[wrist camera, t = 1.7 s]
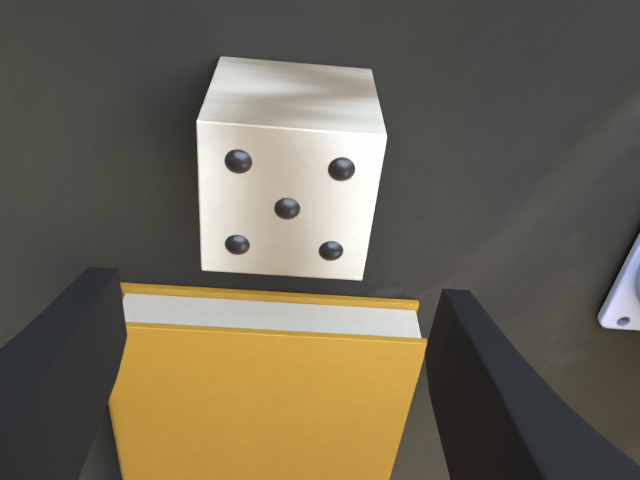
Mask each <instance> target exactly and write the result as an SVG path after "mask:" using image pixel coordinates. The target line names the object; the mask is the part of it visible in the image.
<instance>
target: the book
mask: <svg viewBox="0 0 640 480" xmlns="http://www.w3.org/2000/svg"><path fill="white" fill-rule="evenodd" d="M120 287H121V294H122V301H123V308H124V315H125V322H126V329H127V340H126V344H125V348H124V353H123V357H122V361H121V365H120V369H119V373H118V376H117V379H116V382H115V385H114V387H113V390H112V393H111V395H110V398H109V401H108V405H109V410H110V416H111V421H112V426H113V432H114V437H115V443H116V448H117V453H118V459H119V464H120V470H121V475H122V480H389V478H390V475H391V471H392V468H393V464H394V461H395V457H396V454H397V450H398V447H399V443H400V440H401V436H402V433H403V429H404V426H405V422H406V419H407V415H408V412H409V408H410V404H411V401H412V397H413V394H414V390H415V387H416V383H417V380H418V376H419V373H420V369H421V366H422V362H423V359H424V355H425V349H426V346H427V339H424V338H421V334H420V330H419V325H418V320H417V311H418V307H419V302H418V300H404V299H388V298H371V297H355V296H338V295H321V294H305V293H288V292H272V291H255V290H239V289H222V288H206V287H189V286H173V285H156V284H140V283H123V282H120Z"/></svg>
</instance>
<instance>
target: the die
mask: <svg viewBox="0 0 640 480" xmlns="http://www.w3.org/2000/svg"><path fill="white" fill-rule="evenodd" d="M196 129H197V159H198V188H199V218H200V248H201V269H202V270H203V271H218V272H234V273H250V274H266V275H282V276H298V277H314V278H330V279H346V280H362V278H363V273H364V267H365V261H366V256H367V250H368V244H369V238H370V233H371V227H372V221H373V216H374V210H375V204H376V198H377V193H378V187H379V181H380V176H381V170H382V164H383V158H384V153H385V147H386V141H387V134H386V129H385V125H384V121H383V117H382V113H381V108H380V104H379V100H378V96H377V92H376V87H375V83H374V79H373V75H372V71H371V69H362V68H351V67H339V66H327V65H316V64H304V63H293V62H281V61H269V60H258V59H246V58H235V57H223V56H221V57H220V59H219V61H218V64H217V67H216V69H215V72H214V75H213V78H212V80H211V83H210V86H209V89H208V91H207V94H206V97H205V99H204V102H203V105H202V108H201V110H200V113H199V116H198V119H197V121H196Z"/></svg>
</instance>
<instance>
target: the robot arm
mask: <svg viewBox="0 0 640 480" xmlns="http://www.w3.org/2000/svg"><path fill="white" fill-rule="evenodd" d="M622 317H624V318H622ZM597 318H598V321H599V323H600V324H601V326H602V327H604V328H611V329H628V330H640V233H639V235H638V237H637V239H636V241H635V243H634V245H633V247H632V248H631V250H630V252H629V254H628V256H627V258H626V260H625V262H624V264H623V266H622V268H621V270H620V272H619V274H618V276H617V278H616V280H615V282H614V284H613V286H612V288H611V290H610V292H609V294H608V296H607V298H606V300H605V302H604V304H603V306H602V308H601V310H600V312H599V314H598V317H597ZM620 318H622V319H620ZM126 340H127V329H126V322H125V315H124V308H123V301H122V294H121V287H120V279H119V272H118V269H113V268H97V267H89V268H88V269H87V270H85V271H84V272H83V273H82V274H81V275H80V276H79V277H78V278H77V279H76V280H75V281H74V282H73V283H72V284H71V285H70V286H69V287H68V288H67V289H66V290H65V291H64V292H63V293H62V294H61V295H60V296H59V297H57V298H56V299H55V300H54V301H53V302H52V303H51V304H50V305H49V306H48V307H47V308H46V309H45V310H44V311H43V312H42V313H41V314H39V315H38V316H37V317H36V318H35V319H34V320H33V321H32V322H31V323H30V324H29V325H27V326H26V327H25V328H24V329H23V330H22V331H21V332H20V333H19V334H17V335H16V336H15V337H14V338H13V339H12V340H10V341H9V342H8V343H7V344H6V345H4V346H3V347H2V348H1V349H0V480H78V479H79V476H80V473H81V470H82V467H83V465H84V462H85V460H86V457H87V455H88V452H89V449H90V447H91V444H92V442H93V439H94V437H95V434H96V432H97V429H98V426H99V424H100V421H101V419H102V416H103V414H104V411H105V408H106V406H107V403H108V401H109V398H110V395H111V393H112V390H113V387H114V385H115V382H116V379H117V376H118V373H119V369H120V365H121V361H122V357H123V353H124V348H125V344H126ZM425 360H426V369H427V378H428V386H429V394H430V398H431V402H432V406H433V411H434V415H435V419H436V423H437V427H438V431H439V435H440V439H441V443H442V447H443V451H444V455H445V459H446V463H447V467H448V471H449V475H450V479H451V480H640V466H639V465H638V464H636V463H635V462H634V461H633V460H631V459H630V458H629V457H628V456H626V455H625V454H624V453H623V452H621V451H620V450H619V449H618V448H616V447H615V446H614V445H613V444H611V443H610V442H609V441H608V440H606V439H605V438H604V437H603V436H602V435H601V434H599V433H598V432H597V431H596V430H595V429H594V428H592V427H591V426H590V425H589V424H588V423H587V422H586V421H585V420H584V419H583V418H582V417H580V416H579V415H578V414H577V413H576V412H575V411H574V410H573V409H572V408H571V407H570V406H568V405H567V404H566V403H565V402H564V401H563V400H562V399H561V398H560V397H559V396H558V395H557V394H556V393H555V392H554V391H553V389H552V388H551V387H550V386H549V385H548V384H547V383H546V382H545V381H544V380H543V379H542V378H541V377H540V376H539V375H538V374H537V373H536V371H535V370H534V369H533V368H532V367H531V366H530V365H529V364H528V363H527V361H526V360H525V359H524V358H523V357H522V355H521V354H520V353H519V352H518V351H517V350H516V348H515V347H514V346H513V345H512V344H511V342H510V341H509V340H508V339H507V338H506V336H505V335H504V334H503V333H502V331H501V330H500V329H499V328H498V326H497V325H496V324H495V323H494V321H493V320H492V319H491V318H490V316H489V315H488V314H487V312H486V311H485V310H484V309H483V307H482V306H481V305H480V303H479V302H478V301H477V300H476V298H475V297H474V296H473V295H472V293H471V292H470V291H469V290H454V289H442V293H441V296H440V300H439V303H438V307H437V310H436V314H435V318H434V321H433V325H432V328H431V332H430V335H429V339H428V342H427V346H426V349H425Z"/></svg>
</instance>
